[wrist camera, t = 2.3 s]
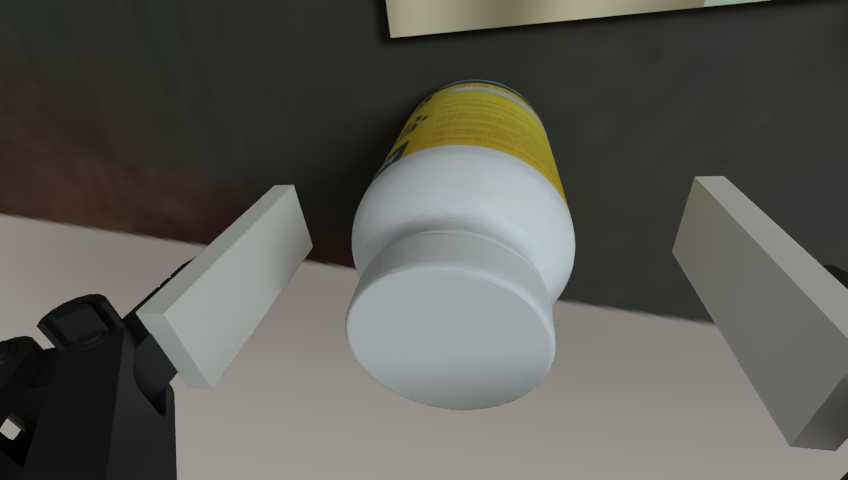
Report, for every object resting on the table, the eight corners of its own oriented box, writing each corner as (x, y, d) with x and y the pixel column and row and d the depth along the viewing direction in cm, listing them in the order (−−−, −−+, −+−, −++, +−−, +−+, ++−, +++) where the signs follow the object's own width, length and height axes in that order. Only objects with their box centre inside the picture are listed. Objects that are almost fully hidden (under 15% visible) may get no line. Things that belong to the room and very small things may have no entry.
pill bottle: (453, 42, 16) (386, 152, 6) (578, 131, 17) (682, 338, 7) (380, 166, 19) (267, 356, 10) (487, 232, 20) (479, 458, 11)
